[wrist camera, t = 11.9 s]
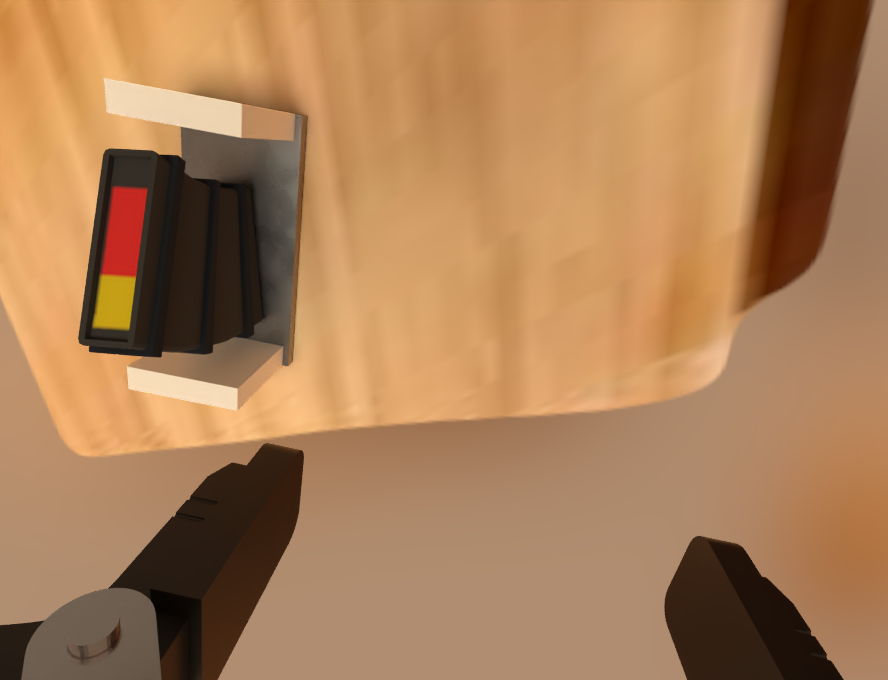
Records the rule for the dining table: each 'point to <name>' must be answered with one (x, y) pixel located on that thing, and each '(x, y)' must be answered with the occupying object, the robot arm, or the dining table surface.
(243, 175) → the rail plate
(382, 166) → the dining table surface
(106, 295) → the magazine
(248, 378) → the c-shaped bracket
